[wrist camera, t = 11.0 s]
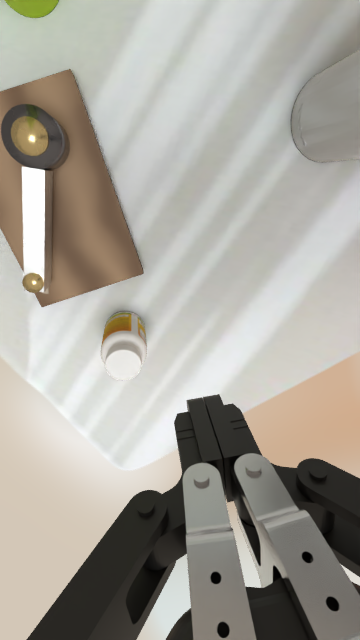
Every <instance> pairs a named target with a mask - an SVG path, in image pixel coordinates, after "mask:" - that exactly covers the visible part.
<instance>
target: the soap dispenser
mask: <svg viewBox="0 0 360 640" xmlns="http://www.w3.org/2000/svg"><path fill="white" fill-rule="evenodd" d="M5 1H6V3H7V4H8V5H9V6H10V7H11V8H12V9H14V10H15V11H16V12H18V13H20V14H21V15H24V16H27V17H31V18H39V17H43V16H45V15H47V14H49V13H50V12H51V11H52V10H53V9H54V8H55V6H56V5H57V3H58V1H59V0H5Z"/></svg>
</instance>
